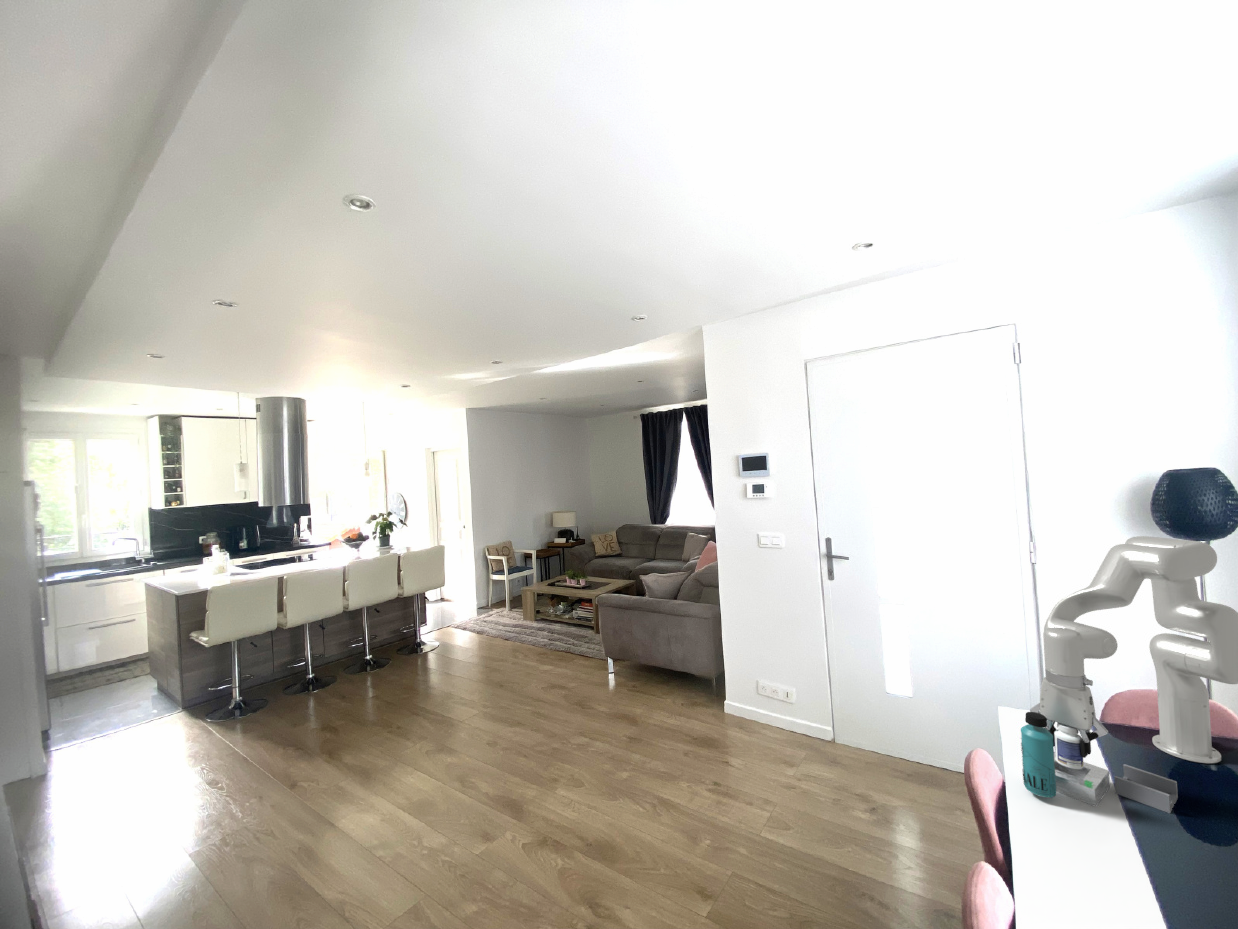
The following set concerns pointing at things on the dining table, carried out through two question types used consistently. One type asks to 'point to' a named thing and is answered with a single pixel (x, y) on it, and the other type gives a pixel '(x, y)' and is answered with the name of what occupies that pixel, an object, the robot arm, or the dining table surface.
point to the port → (1082, 782)
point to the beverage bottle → (1038, 756)
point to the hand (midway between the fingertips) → (1068, 749)
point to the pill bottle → (1068, 746)
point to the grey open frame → (1147, 788)
